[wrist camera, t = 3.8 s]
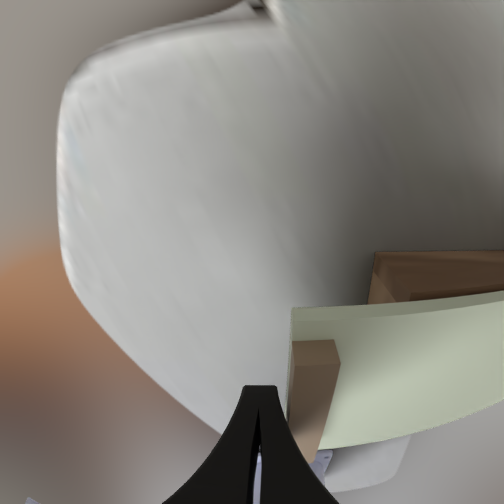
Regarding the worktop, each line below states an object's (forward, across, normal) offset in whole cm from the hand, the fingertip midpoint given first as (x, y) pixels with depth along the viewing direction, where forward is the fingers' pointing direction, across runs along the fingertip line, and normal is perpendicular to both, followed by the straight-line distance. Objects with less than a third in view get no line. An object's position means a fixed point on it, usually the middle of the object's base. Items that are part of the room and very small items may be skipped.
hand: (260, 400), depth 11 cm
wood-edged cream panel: (+1, -9, 0) cm, 9 cm away
